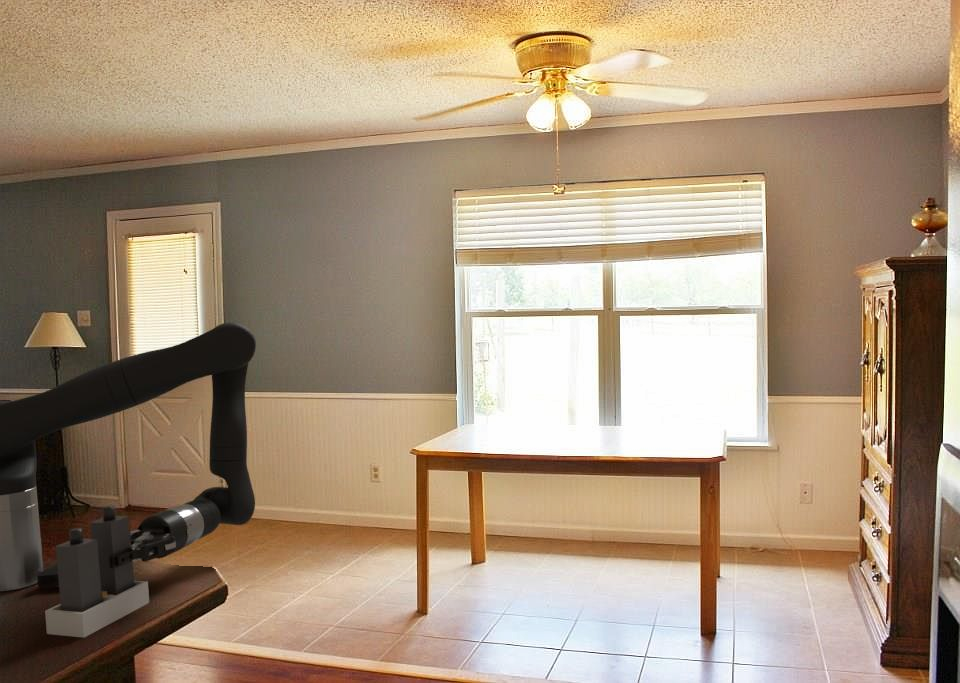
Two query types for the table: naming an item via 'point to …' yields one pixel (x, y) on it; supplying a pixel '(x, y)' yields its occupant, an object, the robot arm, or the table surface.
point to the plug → (112, 550)
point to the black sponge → (48, 578)
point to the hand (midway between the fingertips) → (100, 561)
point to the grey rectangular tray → (97, 612)
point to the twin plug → (78, 573)
